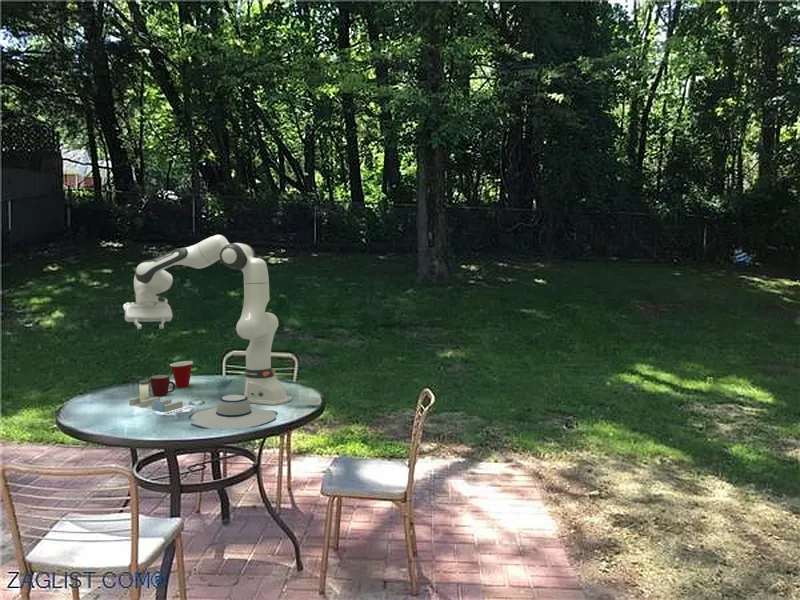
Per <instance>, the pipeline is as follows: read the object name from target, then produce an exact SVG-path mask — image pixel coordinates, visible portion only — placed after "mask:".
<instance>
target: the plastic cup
mask: <svg viewBox="0 0 800 600" xmlns="http://www.w3.org/2000/svg"><path fill="white" fill-rule="evenodd" d="M193 364H194V362H193V361H192V360H184V361H177V362H173V363H170V364H169V366H170V368H171V369H172V373H173V374H172V375H173V379H174V381H175V382H174V384H175V388H178V389H186V388H189V387H190V380H191V375H192V374H191V373H192V367H193Z"/></svg>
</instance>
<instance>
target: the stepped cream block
mask: <svg viewBox="0 0 800 600" xmlns="http://www.w3.org/2000/svg"><path fill="white" fill-rule="evenodd" d="M172 400H173V399H171V398H167V399H166V398H165V399H161V397H156V396H153V397H149V399H147V400H143V401H140V396H138V397H132V398H130V399H129V400H128V402H129V406H132V407H138V408H142V409H148V410H154V411H158V412H167V413H165V414H169V413H172V412H175V411H178V410H181V409H182V408H183V407H184V404H183V402H184V401H182V400H178V401H175V402H172ZM169 415H170V414H169Z"/></svg>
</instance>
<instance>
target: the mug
mask: <svg viewBox="0 0 800 600" xmlns="http://www.w3.org/2000/svg"><path fill="white" fill-rule="evenodd" d="M170 385H172V389H171V390H169V388H170ZM150 386H151V387H150V388H151V391H152V395H153V397H160V398H162V397H166V396H167V395H168V394H169V393H172V392H174V391H175V390H176V384H175V382H174V381H172V380H171V381H170V375H166V374H158V375H152V376H150Z"/></svg>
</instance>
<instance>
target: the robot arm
mask: <svg viewBox="0 0 800 600" xmlns="http://www.w3.org/2000/svg"><path fill="white" fill-rule="evenodd" d="M219 260H220V262H221V263H222V264H223V265H224V266H226V267H228V268H230V269H233V270H238V271H241V272H242V273H243V305H242V311H241V315H240V318H239V319H238V321H237V323H236V327H235V330H236V333H237V335H238V337H240V338H241V339H244V340H249V344H248V346H247V348H246V350H245V369H244V376H245V385H244V386H245V387H244V392H243V396H246V397H247V398H248V400H249V403H250V404H256V405H258V404H259V405H270V406H274V405H275V406H276V405H281V404H285V403H287V402H290V401H291V400H292V397H293V396H290V395H287V389H286V386H285V384H283V383H282V382H281V381H280V380H279V379H278V378H276V376H275V373H276V371H277V370H276V369H274V370H273V368H272V366H271V362H272V347H273V341H274V337H275V333H276V331H277V329H278V327H279V319H278V317H277V316H276V315H275V314H274V313H272V312H267V311H266V308H267V306H268V303H269V301H270V279H269V271H268V266H267V262H266V261H265V260H264V259H262V258H260V257H256V253H255V249H254V248H253V247H252V246H251V245H249V244H247V243H241V242H234V243H233V242H232V243H230V242H229V241H228V239H227V238H226V237H225V236H224V235H222V234H215V235H213V236H209V237H208V238H205V239H203V240H201V241H200V242H197V243H195V244H193V245H190V246H186V247H180V248H176V249H173V250H171V251H169V252H166V253H164V254H161V255H159V256H157V257H155V258H153V259H148V260H144V261H141V262H140V263H139V264H138V265H137V266H136V268H135V270H134V277H133V288H134V289H133V290H134V294H135V302H126V303H124V304H123V305H122V309H123V311H124V320H125V321H126V322H127V323H128V322H129V323H133V324H134V325H135V326H136V327H137V330H142V327H143V326H142V324H141V323H142V322H146V323H147V322H150V323H151V322H160V323H159V325H158V326H159V330H163V329H164V327H165V325H164V324H165V323H166V322H171V321H172V319H173V311H172V308H171V305H170V304H168V301H169V300H168V299H167V298H166V297H161V296H159V295H160V294H162V293H165V292H167V291H169V290H170V289H171V288H172V285H173V284H174V279H173V278H174V277H173V275H172V274H171V273H170V272H168V271H167V270H165V269H168V268H171V267H172V266H177V265H178V266H179V265H180V266H186V267H191V268H193V269H204V268H207V267H209V266H211V265H213V264H214V263H216V262H218V261H219ZM140 322H141V323H140Z"/></svg>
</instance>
